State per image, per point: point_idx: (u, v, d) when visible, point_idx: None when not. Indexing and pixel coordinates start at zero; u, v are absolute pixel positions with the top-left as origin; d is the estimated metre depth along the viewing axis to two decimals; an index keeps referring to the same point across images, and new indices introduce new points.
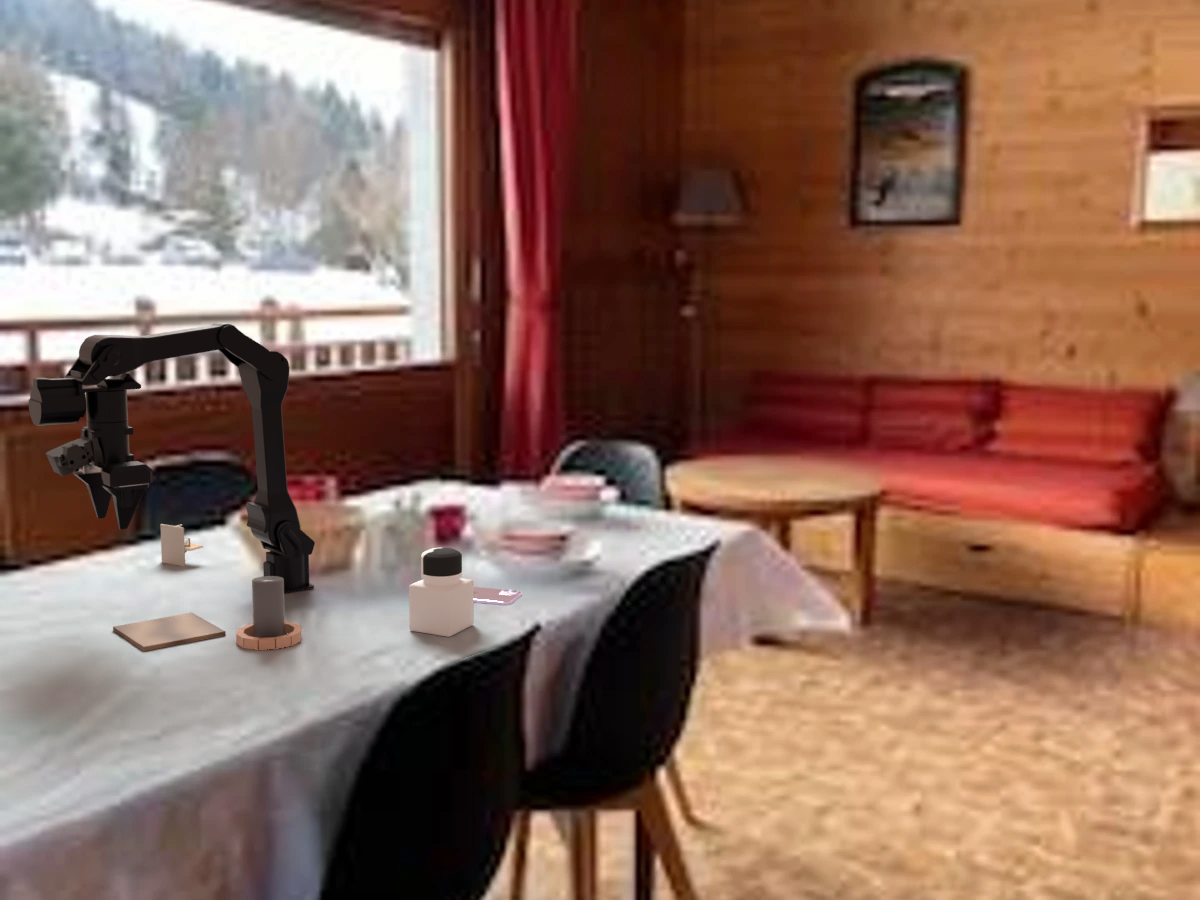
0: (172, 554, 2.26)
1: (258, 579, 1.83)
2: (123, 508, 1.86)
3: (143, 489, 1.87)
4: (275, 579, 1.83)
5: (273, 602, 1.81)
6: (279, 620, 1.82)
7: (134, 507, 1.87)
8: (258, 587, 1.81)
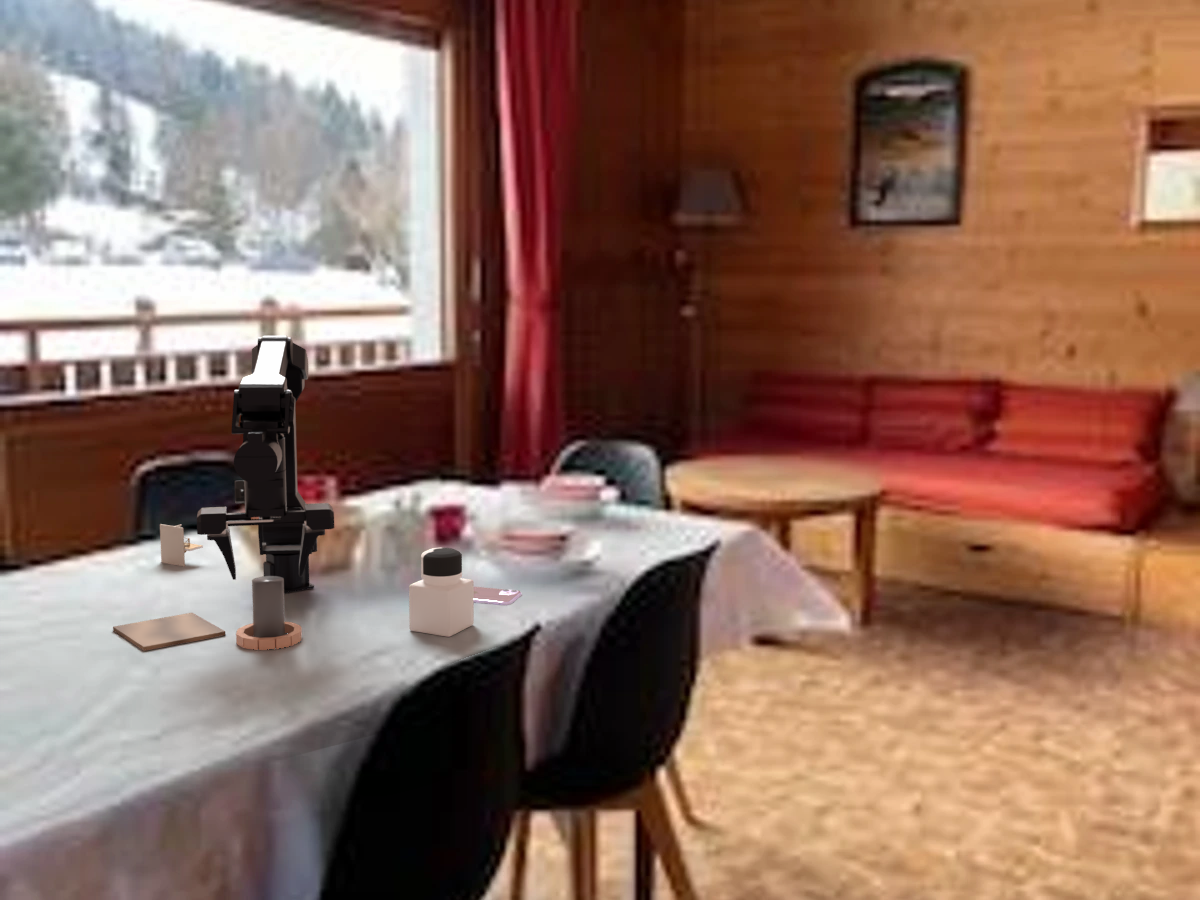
0: (172, 554, 2.26)
1: (258, 579, 1.83)
2: None
3: None
4: (275, 579, 1.83)
5: (273, 602, 1.81)
6: (279, 620, 1.82)
7: (226, 559, 1.79)
8: (258, 587, 1.81)
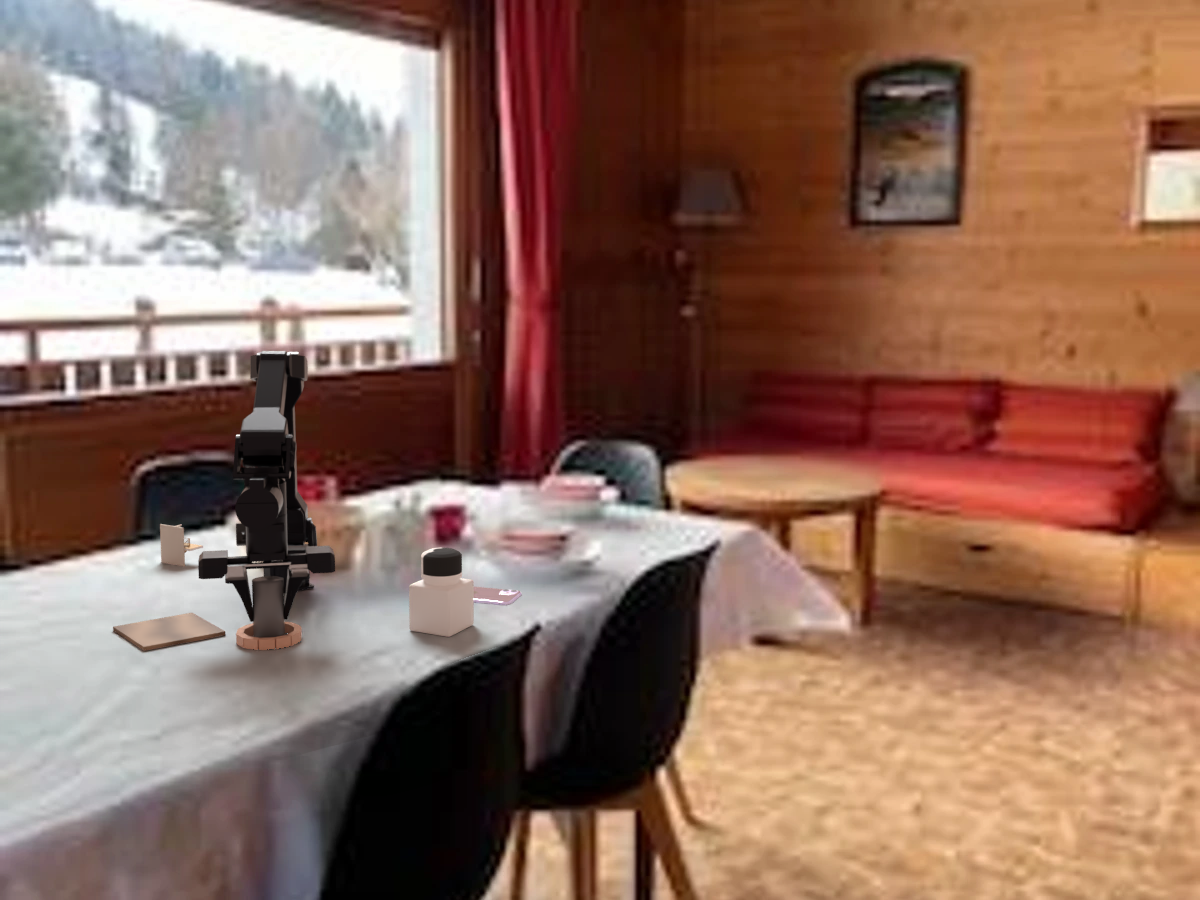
0: (172, 554, 2.26)
1: (258, 579, 1.83)
2: None
3: None
4: (275, 579, 1.83)
5: (273, 602, 1.81)
6: (279, 620, 1.82)
7: (244, 602, 1.81)
8: (258, 587, 1.81)
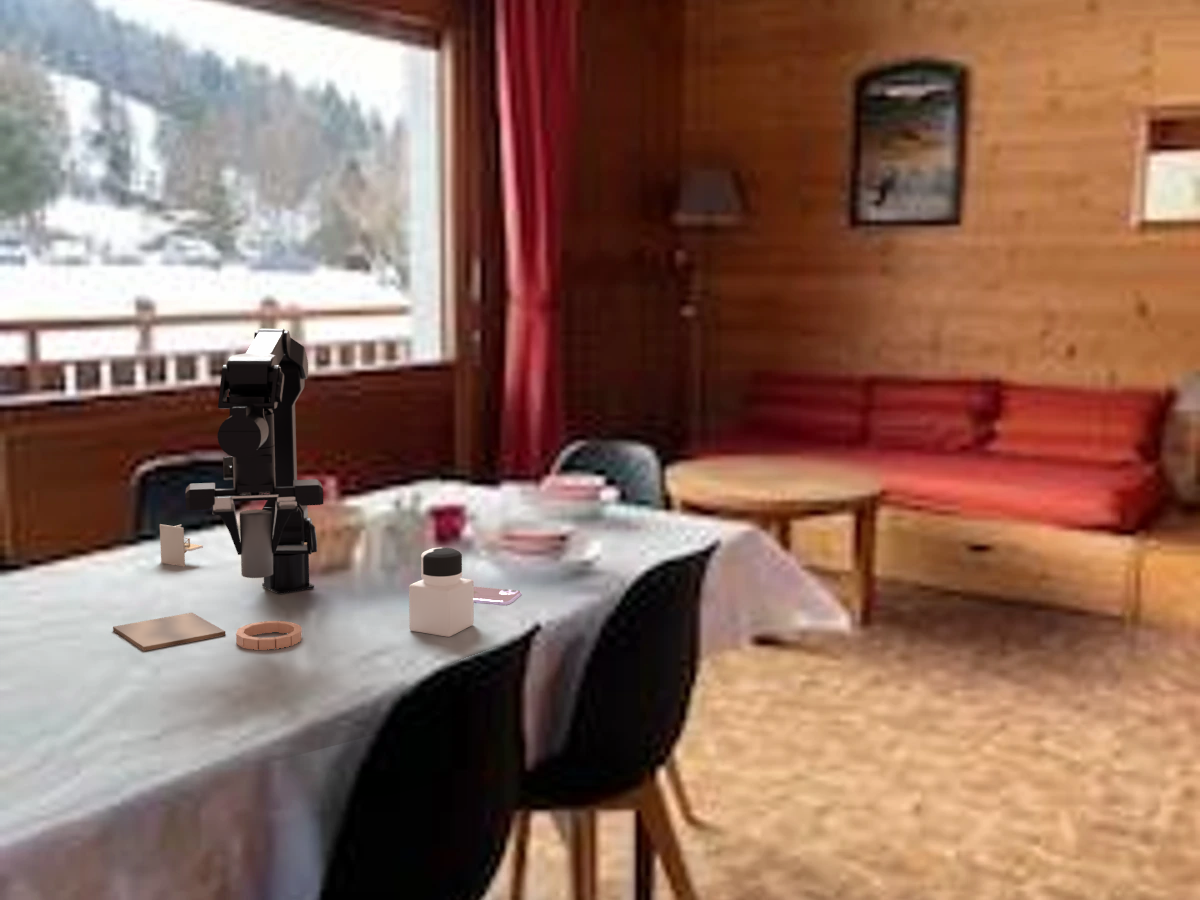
0: (172, 554, 2.25)
1: (246, 512, 1.82)
2: None
3: None
4: (263, 512, 1.82)
5: (261, 535, 1.80)
6: (267, 553, 1.81)
7: (231, 534, 1.80)
8: (245, 519, 1.80)
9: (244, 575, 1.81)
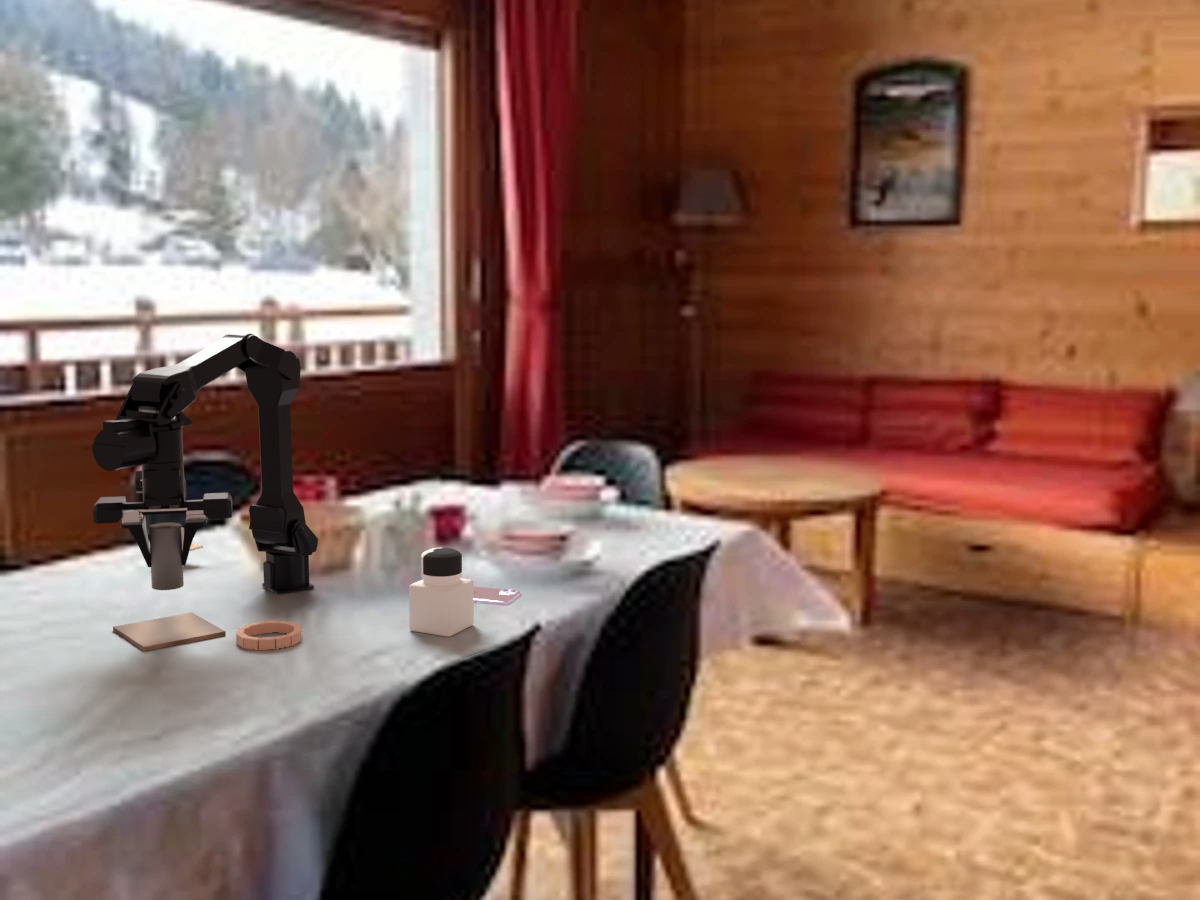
0: None
1: (155, 525, 1.84)
2: None
3: None
4: (172, 525, 1.84)
5: (169, 548, 1.83)
6: (176, 566, 1.84)
7: (140, 547, 1.82)
8: (154, 532, 1.82)
9: (154, 587, 1.84)
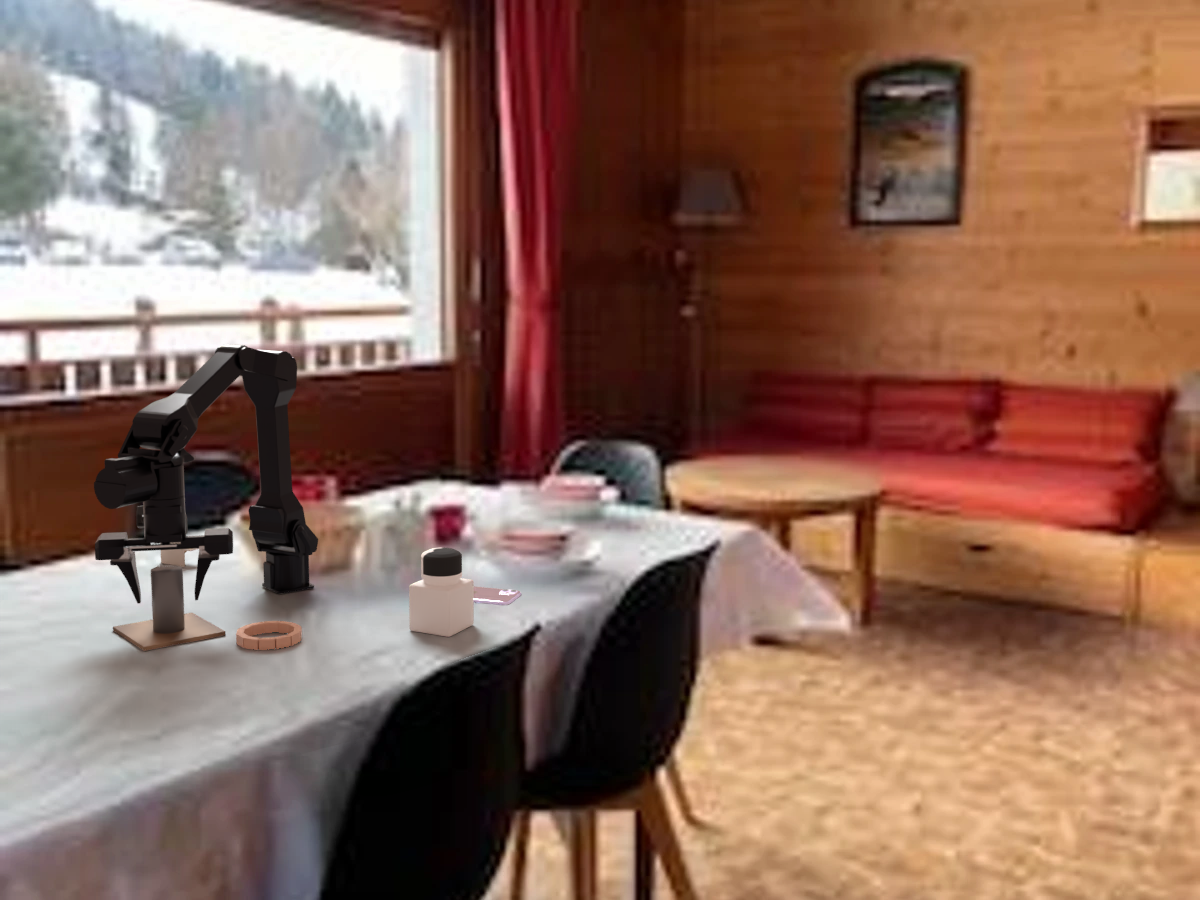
0: (172, 554, 2.25)
1: (157, 568, 1.85)
2: None
3: None
4: (174, 568, 1.85)
5: (171, 591, 1.84)
6: (177, 609, 1.85)
7: (130, 584, 1.83)
8: (156, 576, 1.83)
9: (155, 630, 1.85)
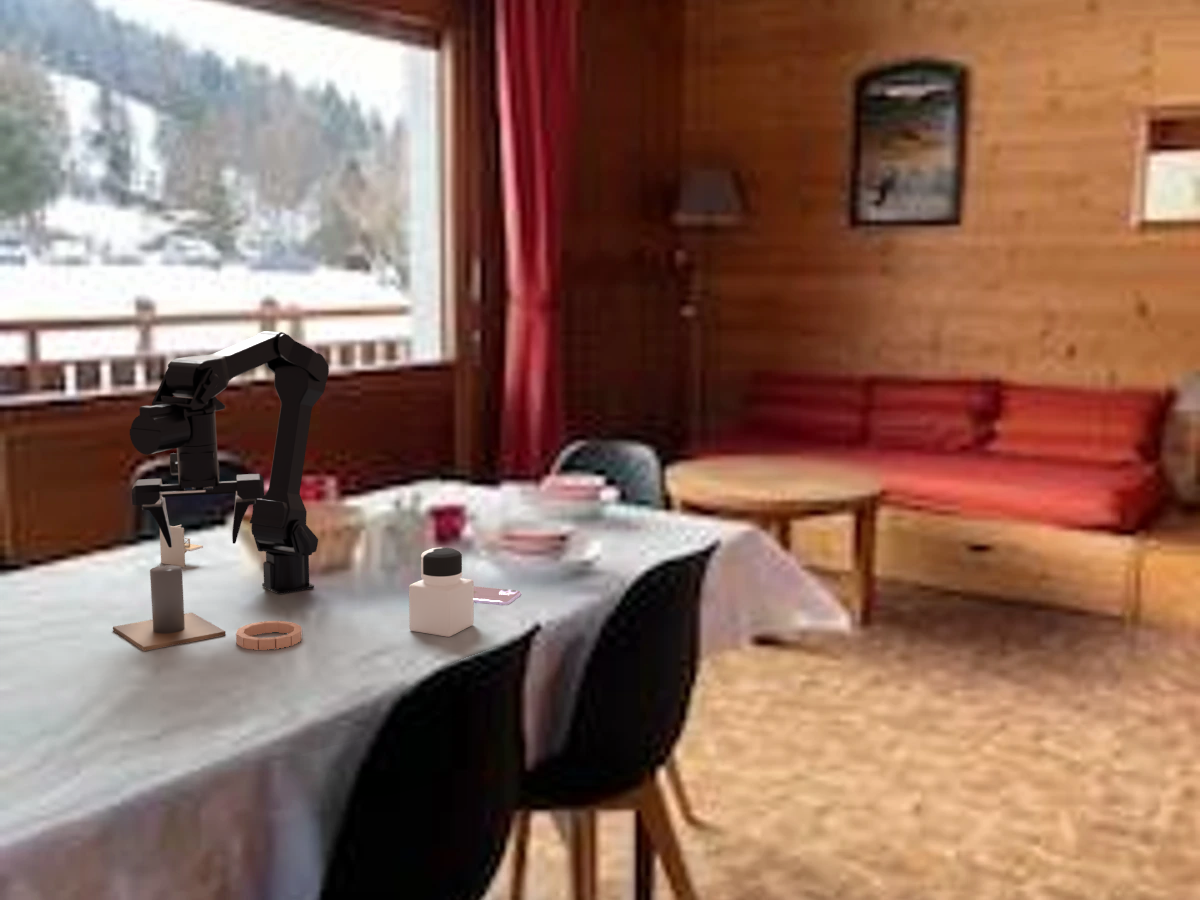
0: (172, 555, 2.25)
1: (156, 568, 1.85)
2: None
3: None
4: (173, 568, 1.85)
5: (170, 591, 1.84)
6: (177, 609, 1.85)
7: (161, 528, 1.89)
8: (155, 576, 1.83)
9: (155, 630, 1.85)
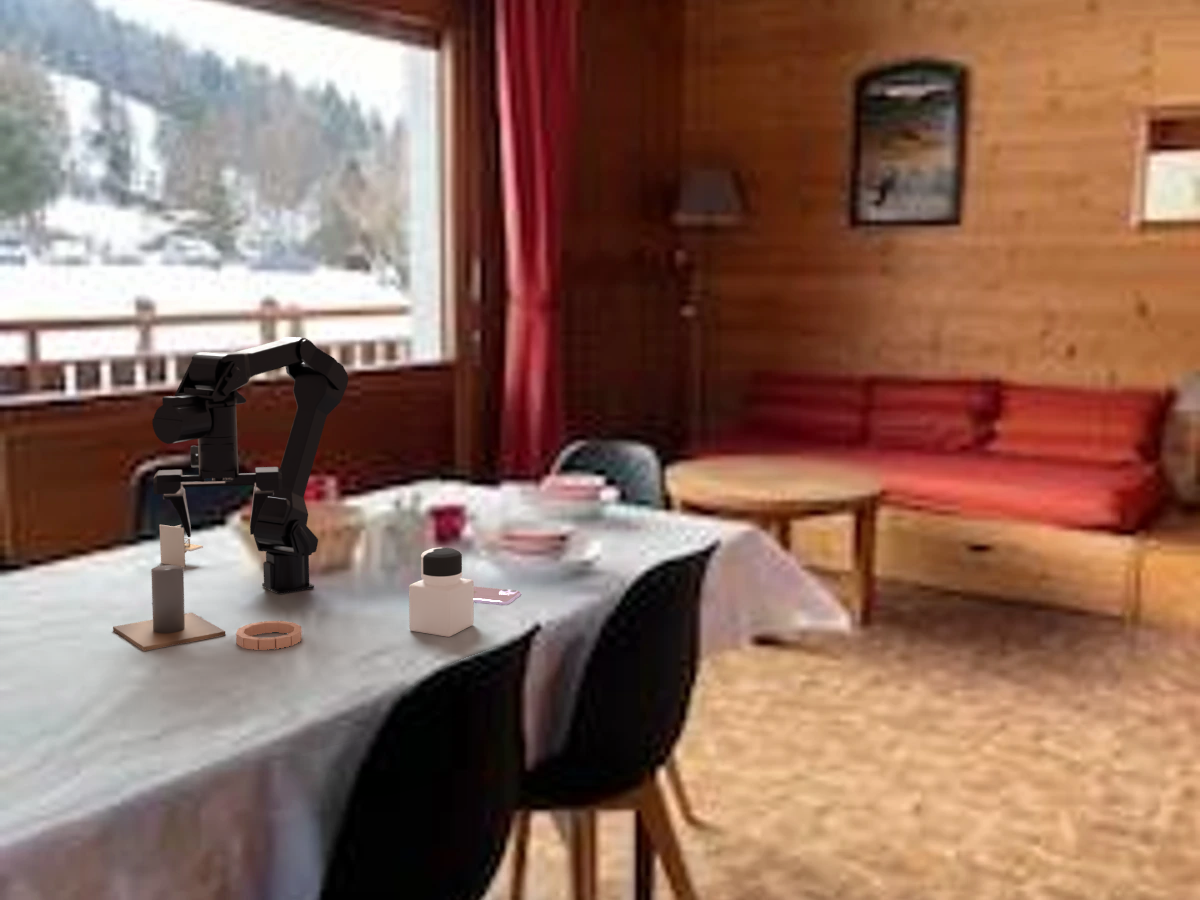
0: (172, 555, 2.25)
1: (158, 568, 1.85)
2: None
3: (172, 501, 1.91)
4: (175, 568, 1.86)
5: (171, 591, 1.84)
6: (178, 609, 1.85)
7: (181, 518, 1.93)
8: (156, 576, 1.83)
9: (155, 630, 1.85)
